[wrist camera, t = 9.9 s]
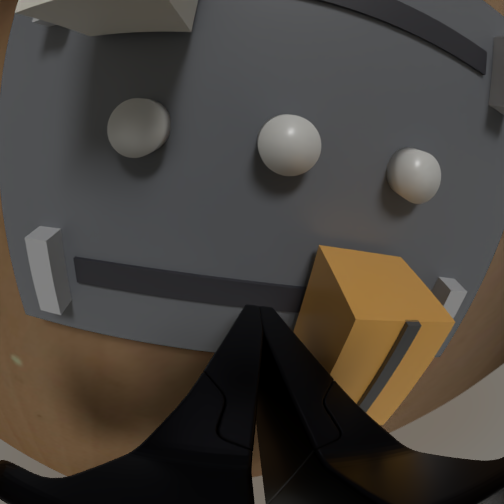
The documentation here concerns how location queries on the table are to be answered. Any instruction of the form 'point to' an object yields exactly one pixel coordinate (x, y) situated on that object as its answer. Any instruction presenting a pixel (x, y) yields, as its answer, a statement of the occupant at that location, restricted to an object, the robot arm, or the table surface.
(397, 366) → the orange fader
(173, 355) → the table surface
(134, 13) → the ivory fader
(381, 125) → the console
